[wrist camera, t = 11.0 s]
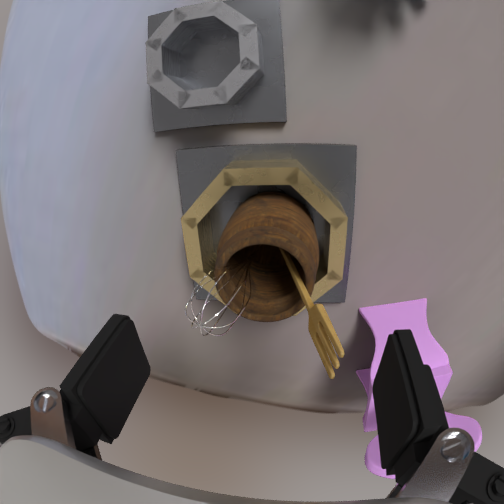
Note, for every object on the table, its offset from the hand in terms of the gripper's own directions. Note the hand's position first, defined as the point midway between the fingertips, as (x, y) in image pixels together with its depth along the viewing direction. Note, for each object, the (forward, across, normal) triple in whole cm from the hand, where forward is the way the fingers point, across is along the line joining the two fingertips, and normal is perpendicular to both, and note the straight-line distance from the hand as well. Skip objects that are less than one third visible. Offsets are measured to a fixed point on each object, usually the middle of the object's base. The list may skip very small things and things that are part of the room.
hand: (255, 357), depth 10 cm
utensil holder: (+12, 0, 0) cm, 12 cm away
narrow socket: (+13, +4, -12) cm, 18 cm away
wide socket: (+13, +1, 0) cm, 13 cm away
